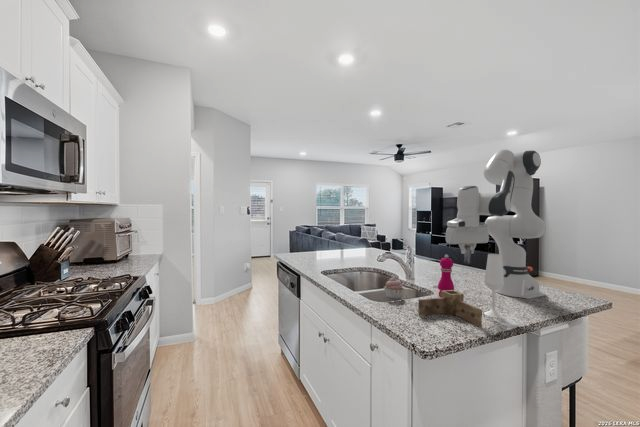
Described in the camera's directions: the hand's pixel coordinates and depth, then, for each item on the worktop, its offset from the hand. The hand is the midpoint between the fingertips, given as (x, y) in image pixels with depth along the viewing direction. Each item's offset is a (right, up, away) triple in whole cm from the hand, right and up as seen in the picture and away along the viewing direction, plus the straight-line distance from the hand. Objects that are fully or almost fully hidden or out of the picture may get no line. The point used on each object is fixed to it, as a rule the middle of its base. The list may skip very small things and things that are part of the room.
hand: (467, 253), depth 130 cm
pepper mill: (-5, -22, +10) cm, 25 cm away
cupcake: (-31, -22, +7) cm, 39 cm away
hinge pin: (0, -4, 0) cm, 4 cm away
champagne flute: (+4, -23, -13) cm, 27 cm away
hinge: (-16, -22, -18) cm, 33 cm away
